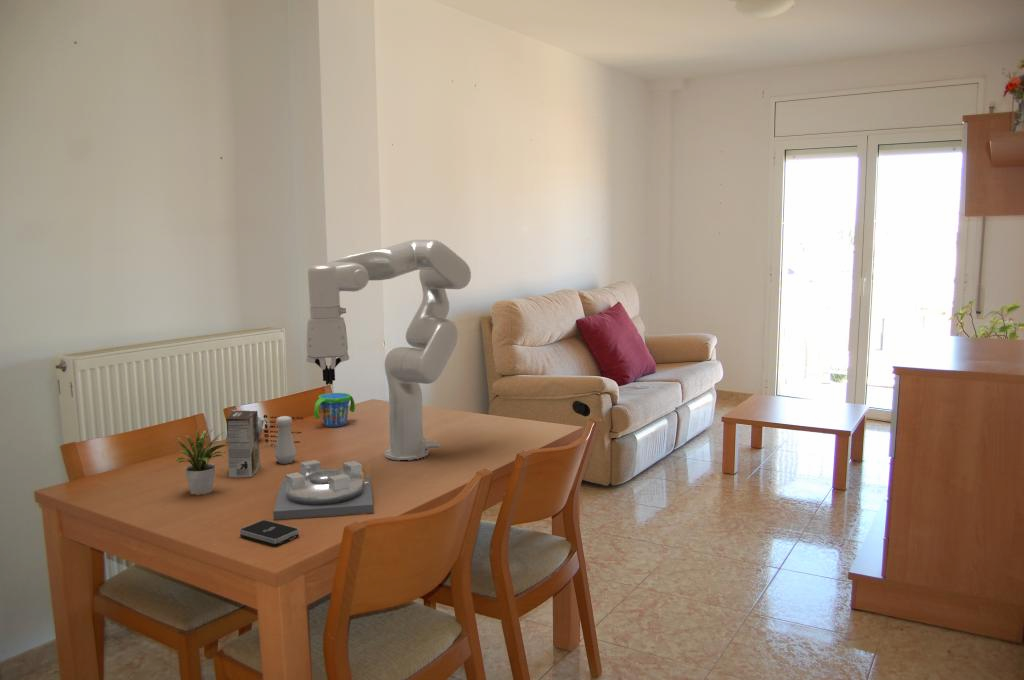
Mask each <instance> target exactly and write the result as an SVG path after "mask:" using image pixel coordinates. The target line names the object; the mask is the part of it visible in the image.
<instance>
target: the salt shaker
mask: <svg viewBox="0 0 1024 680" xmlns="http://www.w3.org/2000/svg"><path fill="white" fill-rule="evenodd" d="M275 424H276V427H277V426H278V429H277V431H278V433H277V434H276V435H277V436H276V441H277V442H275V443H276V444H275V450H274V457H275V459H276V460H277V462H278V463H279V465H288V464H292V463H293V462H294V460H295V457H296V455H297V454H296V453H297V452H296V447H295V443H294V441H295V440H294V438H293V433H292V432H293V431H292V429H291V426H292V424H293V419H292V416H289V415H288V416H287V415H281V416H277V417H276V420H275Z"/></svg>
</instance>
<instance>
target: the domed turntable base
mask: <svg viewBox="0 0 1024 680" xmlns="http://www.w3.org/2000/svg"><path fill="white" fill-rule="evenodd" d="M284 477H285V479H284V482H286V496H287V498H288V499H289V500H291V501H293V502H297V503H301V504H312V505H320V504H332V503H338V502H343V501H347V500H350V499H353V498H355V497H357V496H359V495H360V494H361V493H362V492H363V485H364V477H365V472H364V471H363V464H361V463H360V462H357V461H356V460H352V461H347V462H346V461H345V462H343V463H342V469H341V468H322V462H321V461H319V460H317V459H313V460H306V461H301V462H300V472H298V471H297V472H292V473H287V474H285V476H284Z"/></svg>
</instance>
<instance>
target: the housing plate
mask: <svg viewBox="0 0 1024 680" xmlns="http://www.w3.org/2000/svg"><path fill="white" fill-rule="evenodd" d="M372 491H373V490H372V481H371V476H370V475H369V476H364V485H363V492H362V493H361V494H360V495H359V496H357V497H355V498H353V499H350V500H347V501H343V502H338V503H332V504H320V505H312V504H301V503H297V502H293V501H291V500H289V499H288V498H287V496H286V482H285V481H281V483H280V486H279V490H278V494H277V498H276V500H275V505H274V508H273V521H280V520H291V519H292V520H293V519H306V518H307V519H308V518H321V517H323V518H324V517H335V516H349V515H348V514H354V515H362V514H361V513H368V514H374V503H373V492H372Z"/></svg>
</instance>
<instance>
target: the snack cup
mask: <svg viewBox="0 0 1024 680" xmlns="http://www.w3.org/2000/svg"><path fill="white" fill-rule="evenodd" d="M349 404H350V405H349ZM355 404H356V403H355V399H354V397H353V396H351V394H349V393H347V392H346V393H345V392H329V393H328V392H327V393H322V394H320V395H318V400H316V402H315V404H314V409H313V416H314V418H315V419H317V420H319V419H320V418H321V417H320V411H321V416H322V421H323V422H322V423H323V424H324V426H325V427H329V428H336V427H337V428H338V427H342V426H345V425H347V423H348V416H349V411H350V412H351V413H354V412H355V410H356V405H355Z"/></svg>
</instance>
